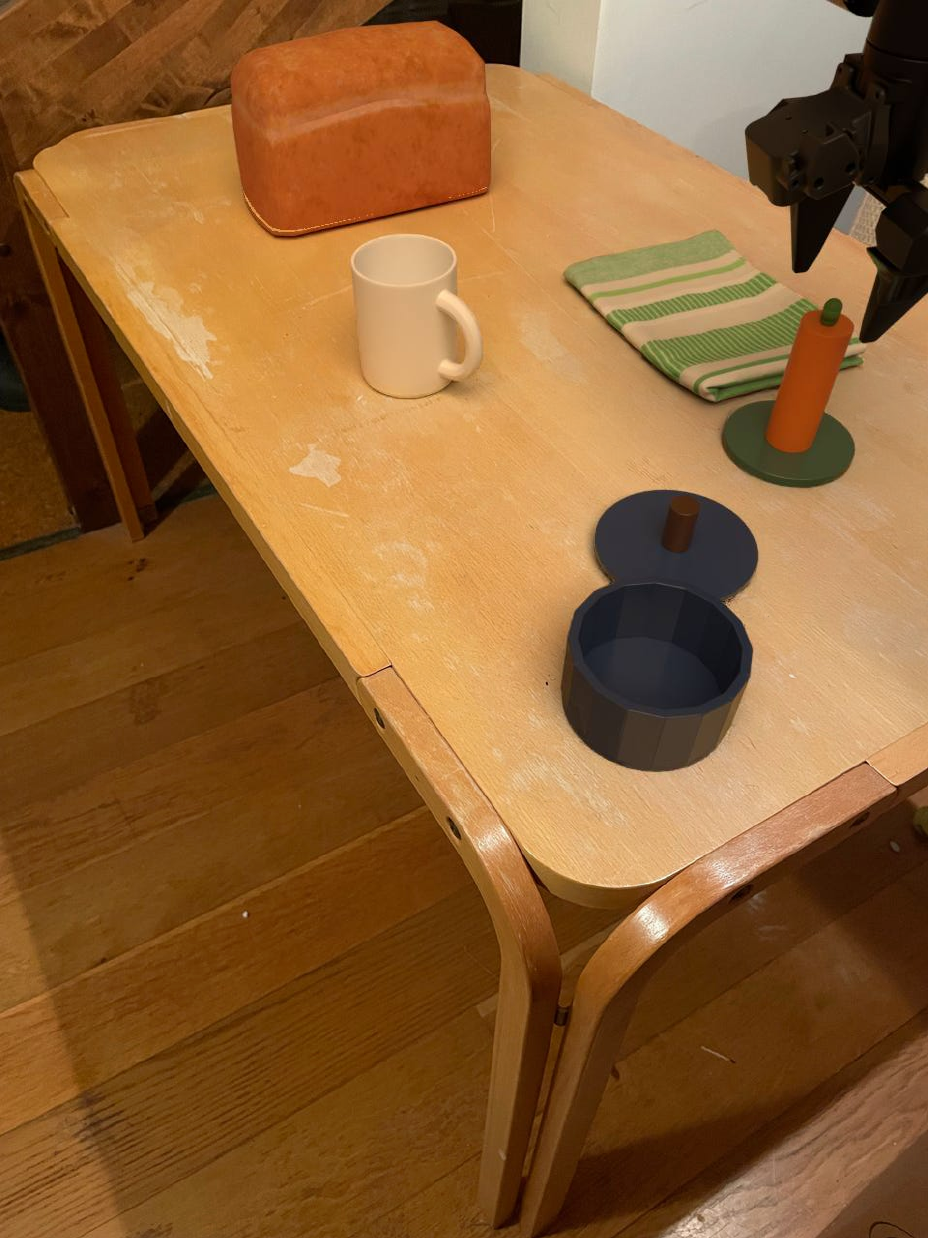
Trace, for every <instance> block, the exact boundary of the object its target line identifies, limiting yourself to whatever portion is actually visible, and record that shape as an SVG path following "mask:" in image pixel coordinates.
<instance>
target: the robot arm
mask: <svg viewBox="0 0 928 1238" xmlns="http://www.w3.org/2000/svg"><path fill="white" fill-rule="evenodd" d="M825 1H827V2H828V3H830V4H833V5H834V6H836V7H839V8H840V9H842V10H844V11H846V12H848V13H850V14H852V15H853V16H856V17H861V18H865V19H866V18H871V21H870V24H869V28H868V30H867V31H868V32H867V33H866V37H865V40H864V44H863V47H862V51H861V52H855V53H845V54H844V57H843V60H842V62H839V63H838V64H837V66H836V70H835V73H834V77H833V80H832V82H831V84H830V86H829V88H828V89H826V90H823V91H821V92H819V93H816V94H810V95H807V96H795V97H786V98H785V97H784V98H782V99H781V100H780V101H779V102H777V104H776V105H775V106H774V107H773V108H772V109H771V110H770V111H768V113H767V114H766V115H763V116H762V117H759V118H758V119H757V118H756V119H755V120H753V121H751V122H750V123H749V124H748V125H746V127H745V129H744V139H745V140H744V141H745V149H746V159H747V160H746V161H747V171H748V181H749V183H750V184H751V185H752V186H753V187H757V188H758V189H759V190H760V191H761V192H762V193H763V194H764V195H765V196H766V198H767V200H768V201H769V202H770V203H771V204H772V205H773V206H776V207H779V208H786V207H789V214H790V215H789V217H790V218H789V219H790V251H791V253H790V255H791V270H792V272H793V273H794V274H803V273H804V274H805V273H807V272H809V270H810V269H811V268H812V266H813V264H814V262H815V261H816V259H817V258H818V256H819V254H820V253H821V251H822V249H823V247H824V246H825V244H826V242H827V240H828V237H829V236H830V234H831V232H832V230H833V228H834V226H835V225H836V223H837V221H838V219H839V217H840V215H841V213H842V211H843V209H844V207H845V205H846V203H847V201H848V199H849V198H850V196H851V194H852V192H853V191H854V188H855V187H859V188H862V189H863V190H865V192H867V193H868V194H869V195H871V197H873V198H874V199H876V200H877V201H878V202H879V203H880V204H881V205H883V206H884V208H883V209H882V210H881V211H880V214H879V217H878V220H877V222H876V225H875V228H874V236H875V243H876V245H873V246H867V247H866V249H865V250H866V253H867V255H868V257H869V258H870V260H871V262H873V264H874V266H875V267H876V274H875V278H874V281H873V283H872V287H871V291H870V294H869V298H868V302H867V305H866V308H865V311H864V315H863V317H862V321H861V326H860V331H859V335H858V336H859V340H860V341H861V343H866V344H870V343H875V342H876V341H878V340H879V339H881V337H882V336H883V335H885V333H887V331H889V330H890V329H891V328H892V327H893V326H894V325H896V323H897V322H898V321H900V319H902V318H903V317H904V316H905V315H906V314H907V313H908V312H909V311H910V310H911V309H913V307H915V305H917V304H918V303H919V301H921V300H922V299H923V298H924V297H925V296H926V295H928V187H927V185H925V184H923V183H922V182H923V181H924V180H925V177H926V176H927V175H928V0H825Z"/></svg>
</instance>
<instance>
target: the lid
mask: <svg viewBox="0 0 928 1238" xmlns="http://www.w3.org/2000/svg"><path fill="white" fill-rule="evenodd" d="M593 548H594V553H595V556H596V559H597V561H598V563H599V565H600V567H601V568H602V570H603V571H604V573H606V575H607V576H608V577H609V578H610V580H612V582H616V581H618V580H620V579H624V578H636V577H648V576H657V577H662V578H667V579H672V580H677V581H682V582H687V583H690V584H692V585H694V586H696V587H698V588H700V589H702V590H704V591H706V592H708V593H710V594H712V595H714V596H716V597H718V598H719V599H720V600H721V601H722V602H723V603H724V602H726V601H727V600H730V599H732V598H734V597H735V596H736V595H737V594H739V593H741V592H742V591H743V590H744V589H745V588H746V587H747V586H748V585H749V583H750V582H751V580H752V579H753V578H754V575H755V573H756V570H757V567H758V563H759V549H758V544H757V540H756V538H755V536H754V534H753V532H752V530H751V528H750V527H749V526H748V525H747V523H746V522H745V521H744V520H743V519H742V518H741V517H740V516H739V515H737V514H736V513H735V512H734V511H733V510H731V508H728V507H727V506H726V505H724V504H722V503H720V502H718V501H716V500H714V499H712V498H710V497H707V496H705V495H701V494H697V493H693V492H689V491H685V490H679V489H651V490H645V491H640V492H636V493H633V494H629V495H627V496H625V497H623V498H621V499H618V501H615V502H614V503H613V504H611V506H609V507H608V508H607V509H606V510H605V511H604V512H603V514H602V515H601V516H600V517H599V519H598V521H597V523H596V526H595V530H594V536H593Z"/></svg>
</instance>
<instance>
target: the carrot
mask: <svg viewBox="0 0 928 1238" xmlns="http://www.w3.org/2000/svg"><path fill="white" fill-rule="evenodd" d="M822 309H823V310H813V311H809V312H807V313H805V314H804V315H803V316H802V318H801V321H800V324H799V327H798V330H797V333H796V337H795V340H794V343H793V346H792V349H791V353H790V356H789V359H788V362H787V365H786V369H785V372H784V375H783V378H782V381H781V385H779V388H778V391H777V395H776V397H775V400H776V401H775V404H774V407H773V410H772V413H771V417H770V420H769V423H768V426H767V429H766V433H765V437H766V440H767V442H768V443H769V444H770V445H771V446H773V447H774V448H776V449H778V450H780V451H784V452H788V453H800V452H803V451H806V450H808V449H809V448H810V447H811V445H812V443H813V440H814V438H815V435H816V432H817V429H818V427H819V424H820V421H821V418H822V416H823V413H824V412H825V410H826V408H827V405H828V402H829V399H830V396H831V394H832V391H833V388H834V386H835V383H836V380H837V377H838V375H839V371H840V370H841V369H840V366H841V364H842V361H843V358H844V356H845V353H846V350H847V347H848V345H849V342H850V339H851V336H852V334H853V331H855V324H854V322H853V321H852V319H850V318H849V317H848V316H846V315H845V314H843V313H842V311H843V302H842V300H840V299H839V298H837V297H831V298H829V299H827V300H826V301H825V303H824V304H823V307H822Z"/></svg>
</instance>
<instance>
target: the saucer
mask: <svg viewBox="0 0 928 1238" xmlns="http://www.w3.org/2000/svg"><path fill="white" fill-rule="evenodd" d="M775 401H776V399H767V400H759V401H754V402H751V403H747V404H744V405H742V406H740V407H738V408H737V409H735V410H734V411H733V412H732V413H731V414H730V415H729V416H728V417H727V419H726V421H725V422H724V425H723V429H722V433H721V442H722V448H723V449H724V451H725V453H726V455H727V456H728V458H729V460H730V461H732V462H733V464H735V465H736V466H737V467H738V468H739V469H741V470H742V471H744V472H745V473H746V474H748V475H750V476H752V477H754V478H756V479H759V480H761V481H764V482H766V483H769V484H773V485H777V486H782V487H789V488H813V487H814V488H815V487H820V486H824V485H827V484H830V483H833V482H835V481H837V480H839V479H840V478H841V477H843V476H844V475H845V474H846V473H847V471H848V470H849V469H850V467H851V465H852V463H853V460H854V457H855V453H856V446H855V445H856V443H855V441H854V438H853V436H852V434H851V432H850V431H849V430H848V428H847V427H845V425H844V424H842V422H841V421H839V420H838V419H837V418H835V417H834V416H832V415H831V414H829V413H828V412H825V411H824V413H823V416H822V418H821V421H820V424H819V427H818V429H817V432H816V435H815V438H814V440H813V443H812V445H811V447H810V448H809V449H808V450H806V451H803V452H800V453H788V452H784V451H780V450H778V449H776V448H774V447H773V446H771V445H770V444H769V443H768V442H767V440H766V437H765V433H766V429H767V426H768V423H769V420H770V417H771V413H772V410H773V407H774V404H775Z"/></svg>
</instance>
